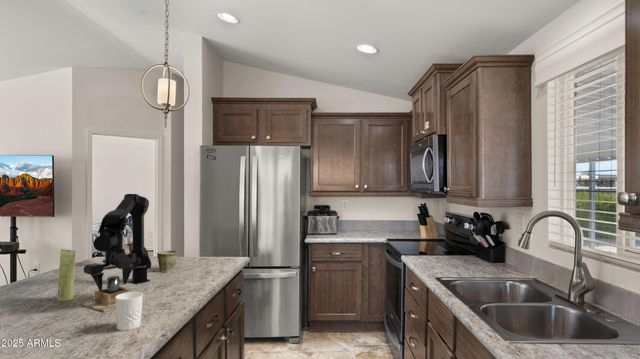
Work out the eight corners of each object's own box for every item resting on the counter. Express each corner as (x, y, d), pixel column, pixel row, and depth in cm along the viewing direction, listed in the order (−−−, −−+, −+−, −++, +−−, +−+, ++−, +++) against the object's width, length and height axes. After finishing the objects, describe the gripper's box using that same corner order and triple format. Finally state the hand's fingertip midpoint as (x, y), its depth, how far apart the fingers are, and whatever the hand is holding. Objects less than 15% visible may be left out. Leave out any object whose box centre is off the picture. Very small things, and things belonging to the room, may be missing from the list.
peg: (104, 301, 130) (104, 277, 130) (114, 298, 133) (115, 275, 134) (110, 303, 128) (111, 279, 128) (120, 300, 131) (121, 276, 132)
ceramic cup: (172, 273, 175) (172, 254, 175) (152, 273, 175) (153, 253, 175) (182, 267, 188) (183, 249, 188) (164, 267, 188) (165, 249, 188)
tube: (76, 296, 137) (77, 248, 138) (73, 300, 133) (75, 250, 133) (59, 298, 135) (60, 248, 135) (55, 302, 130) (57, 251, 130)
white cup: (121, 321, 113) (122, 291, 113) (146, 321, 114) (147, 291, 114) (109, 332, 105) (110, 299, 105) (135, 331, 106) (136, 299, 106)
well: (82, 305, 128) (83, 292, 128) (119, 294, 140) (120, 283, 140) (104, 312, 121) (104, 298, 121) (141, 300, 133) (141, 288, 134)
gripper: (100, 252, 119) (99, 297, 119) (149, 245, 135) (148, 284, 135) (83, 249, 124) (82, 292, 124) (132, 242, 141) (131, 280, 140)
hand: (112, 287), depth 131 cm, fingers open, 9 cm apart
